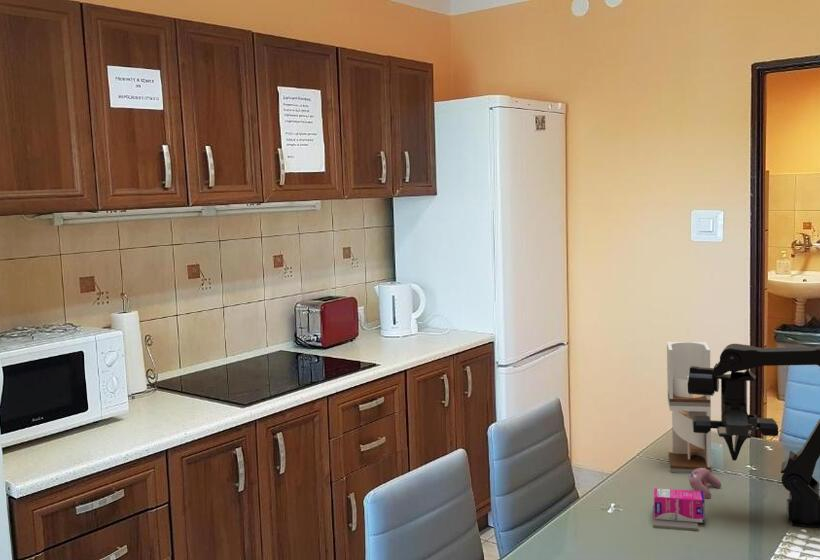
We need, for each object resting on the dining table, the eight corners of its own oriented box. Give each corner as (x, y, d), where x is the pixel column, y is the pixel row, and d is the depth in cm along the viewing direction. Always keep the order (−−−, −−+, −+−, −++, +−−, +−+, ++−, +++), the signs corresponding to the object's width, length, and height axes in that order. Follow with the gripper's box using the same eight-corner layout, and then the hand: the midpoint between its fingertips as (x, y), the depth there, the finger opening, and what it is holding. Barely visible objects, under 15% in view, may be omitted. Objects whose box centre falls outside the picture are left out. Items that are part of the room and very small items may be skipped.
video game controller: (707, 490, 206) (695, 465, 207) (723, 486, 203) (711, 461, 204) (695, 503, 198) (682, 477, 199) (711, 498, 195) (698, 472, 197)
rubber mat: (695, 510, 189) (695, 508, 189) (698, 531, 178) (698, 528, 178) (653, 507, 192) (652, 505, 192) (653, 527, 181) (653, 525, 181)
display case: (668, 458, 227) (666, 341, 223) (707, 460, 224) (706, 342, 220) (670, 472, 216) (669, 349, 212) (711, 474, 213) (710, 349, 209)
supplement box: (705, 523, 180) (654, 520, 184) (704, 513, 186) (654, 510, 190) (704, 499, 180) (653, 496, 183) (703, 490, 185) (653, 487, 189)
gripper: (694, 404, 180) (695, 469, 182) (782, 407, 174) (781, 474, 176) (692, 392, 191) (692, 453, 192) (774, 395, 185) (774, 458, 187)
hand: (734, 460), depth 186 cm, fingers closed
